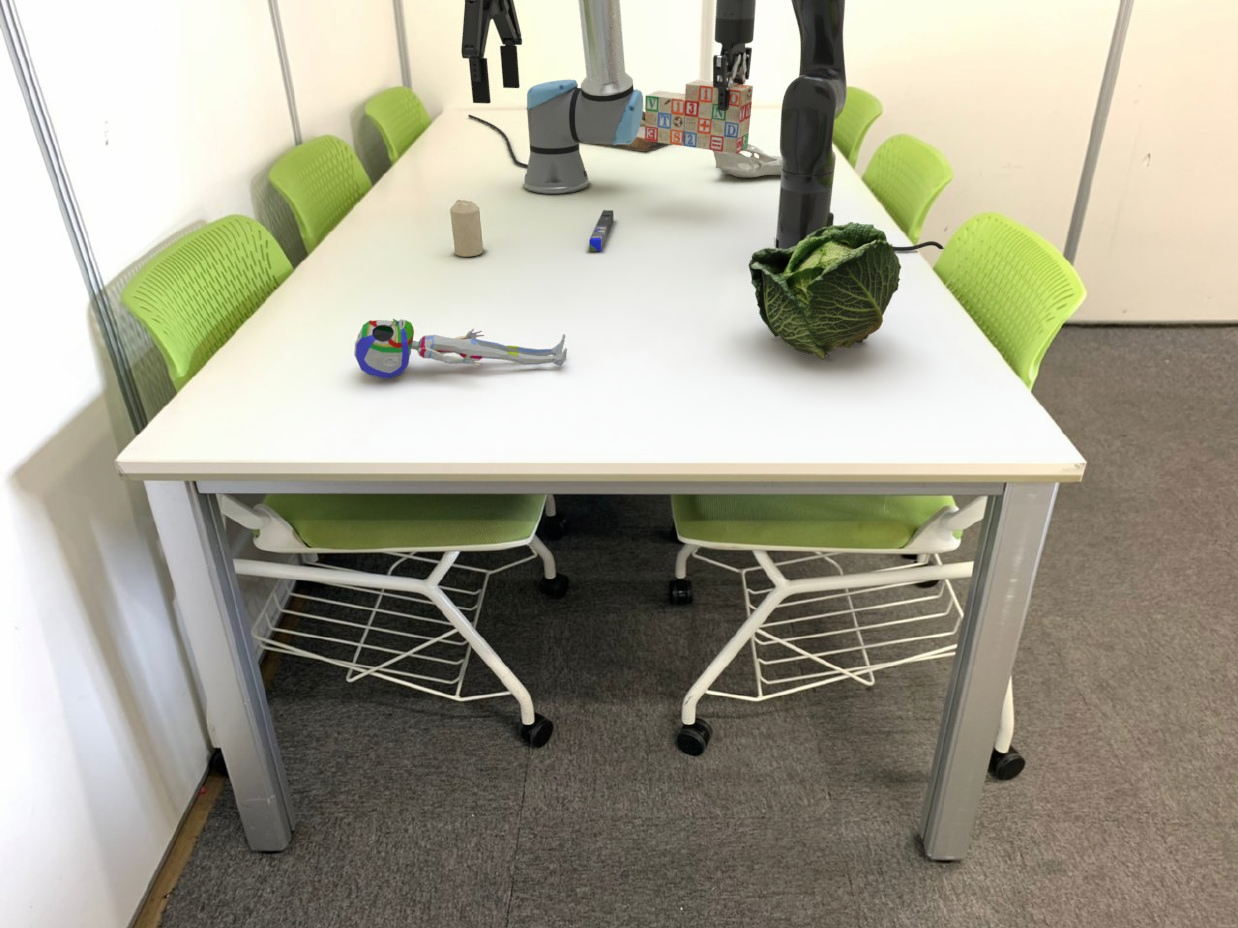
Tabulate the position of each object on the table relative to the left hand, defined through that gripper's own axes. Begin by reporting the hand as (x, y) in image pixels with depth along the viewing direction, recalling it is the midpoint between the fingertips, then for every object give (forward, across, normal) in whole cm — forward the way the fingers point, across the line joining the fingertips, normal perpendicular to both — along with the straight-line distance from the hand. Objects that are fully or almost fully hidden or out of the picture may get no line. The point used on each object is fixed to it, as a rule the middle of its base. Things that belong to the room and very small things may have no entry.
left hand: (497, 95), depth 148 cm
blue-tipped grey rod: (+31, +25, -10) cm, 41 cm away
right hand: (+9, +44, -33) cm, 55 cm away
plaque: (+31, +115, +4) cm, 119 cm away
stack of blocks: (+17, +46, -26) cm, 55 cm away
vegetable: (+31, -18, -57) cm, 67 cm away
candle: (+31, +10, +12) cm, 35 cm away
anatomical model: (+31, +78, -34) cm, 90 cm away
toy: (+31, -38, -6) cm, 50 cm away
